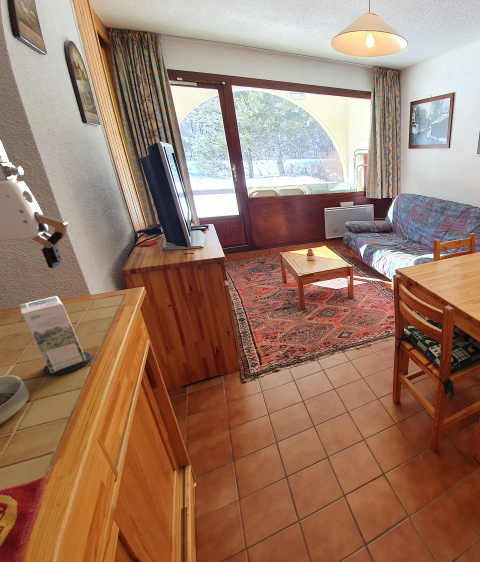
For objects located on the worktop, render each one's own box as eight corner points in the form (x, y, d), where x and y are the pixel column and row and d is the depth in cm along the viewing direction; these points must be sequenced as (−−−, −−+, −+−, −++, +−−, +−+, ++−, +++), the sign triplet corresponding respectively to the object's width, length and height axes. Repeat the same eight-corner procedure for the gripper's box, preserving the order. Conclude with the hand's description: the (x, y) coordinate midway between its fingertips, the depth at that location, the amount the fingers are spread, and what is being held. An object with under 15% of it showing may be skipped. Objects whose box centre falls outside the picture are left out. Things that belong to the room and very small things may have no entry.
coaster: (36, 380, 63) (35, 377, 62) (53, 358, 69) (52, 356, 69) (84, 370, 66) (83, 368, 65) (96, 350, 72) (95, 348, 72)
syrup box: (81, 351, 71) (56, 294, 65) (87, 361, 67) (62, 302, 62) (46, 363, 67) (17, 303, 61) (51, 375, 63) (20, 312, 58)
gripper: (57, 172, 58) (87, 258, 65) (-78, 171, 52) (-30, 267, 58) (37, 175, 52) (72, 270, 59) (-119, 175, 45) (-60, 281, 52)
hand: (21, 268), depth 59 cm, fingers open, 9 cm apart
